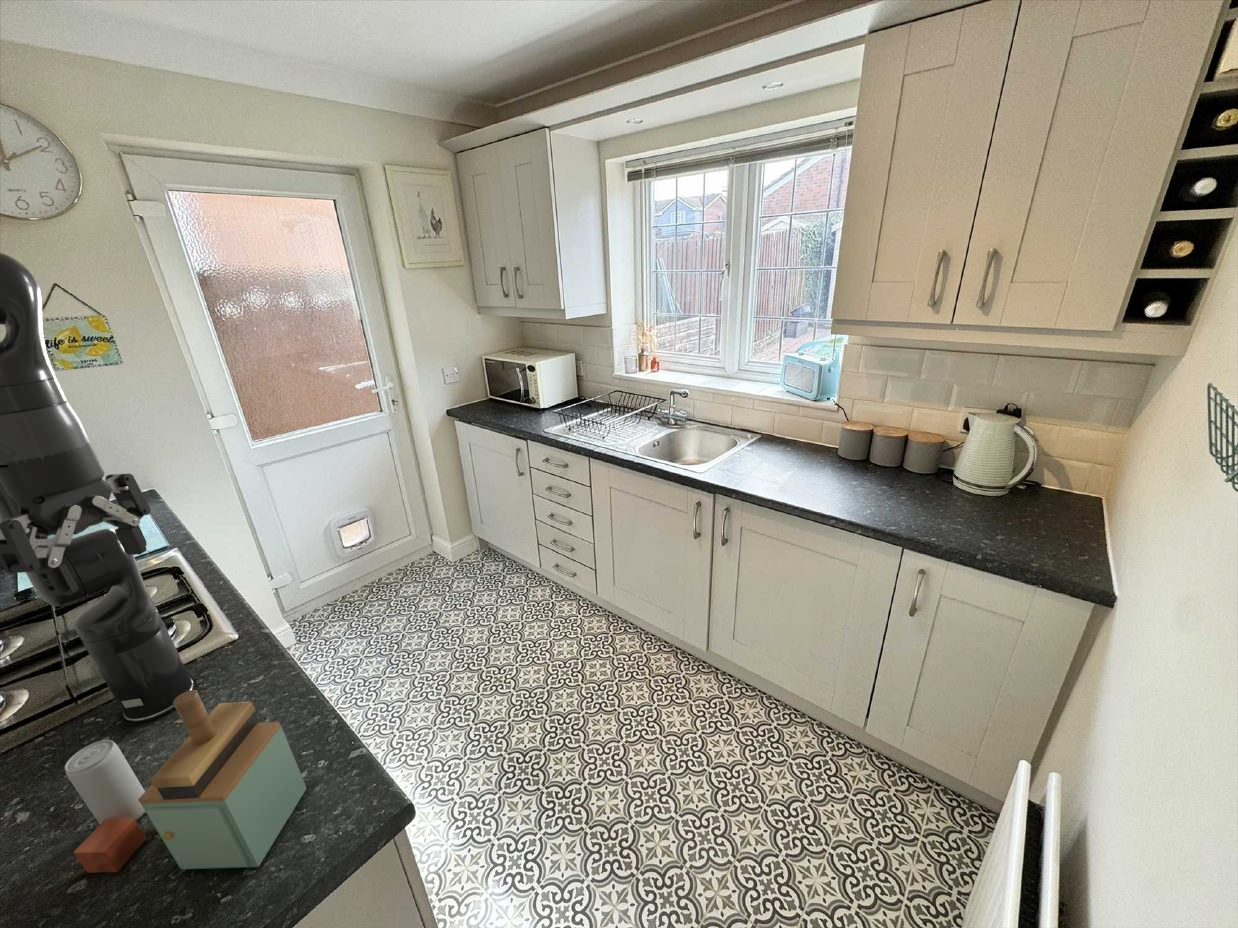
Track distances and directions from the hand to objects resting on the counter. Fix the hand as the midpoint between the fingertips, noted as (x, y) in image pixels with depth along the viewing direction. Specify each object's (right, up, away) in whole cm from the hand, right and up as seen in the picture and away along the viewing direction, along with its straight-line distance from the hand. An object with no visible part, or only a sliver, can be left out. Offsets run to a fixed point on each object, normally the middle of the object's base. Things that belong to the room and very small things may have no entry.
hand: (104, 572), depth 59 cm
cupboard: (+13, -36, +6) cm, 38 cm away
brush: (+12, -24, +1) cm, 27 cm away
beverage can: (-5, -36, +8) cm, 37 cm away
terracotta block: (-4, -36, +3) cm, 36 cm away
